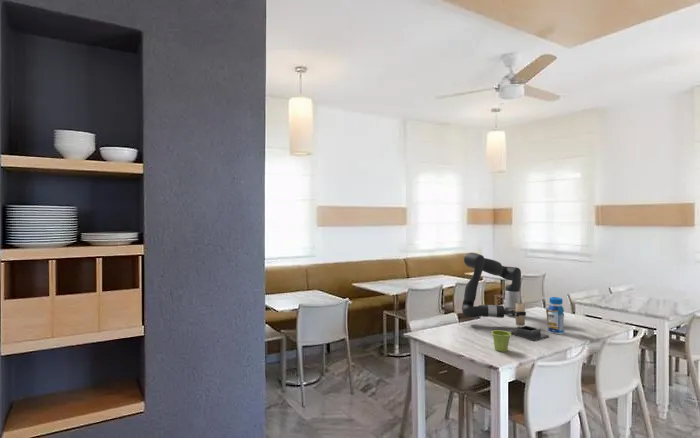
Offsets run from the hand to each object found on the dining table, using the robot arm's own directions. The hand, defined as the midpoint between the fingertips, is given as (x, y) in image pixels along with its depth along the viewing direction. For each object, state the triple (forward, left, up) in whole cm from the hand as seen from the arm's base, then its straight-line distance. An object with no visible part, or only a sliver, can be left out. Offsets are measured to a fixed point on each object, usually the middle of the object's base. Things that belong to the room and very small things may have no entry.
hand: (524, 312), depth 246 cm
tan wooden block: (-2, -2, -8) cm, 8 cm away
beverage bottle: (+16, +6, -9) cm, 20 cm away
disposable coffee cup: (+7, +19, -9) cm, 22 cm away
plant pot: (+18, -47, -9) cm, 51 cm away
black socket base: (+11, -13, -9) cm, 19 cm away
